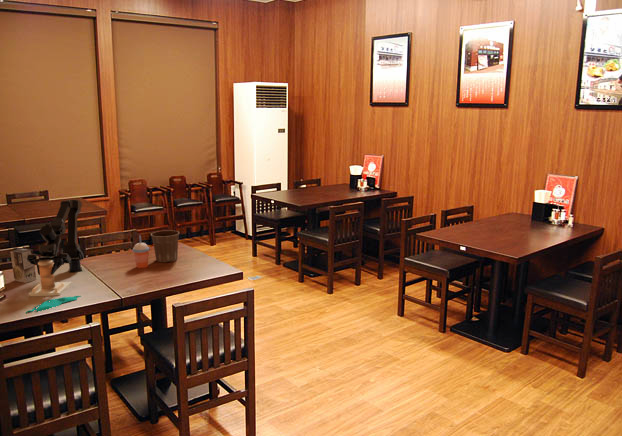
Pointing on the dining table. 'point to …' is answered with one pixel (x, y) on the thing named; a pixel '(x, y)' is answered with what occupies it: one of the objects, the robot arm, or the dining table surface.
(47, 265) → the bobbin
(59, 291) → the cream square tray
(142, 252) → the cup with straw
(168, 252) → the plant pot
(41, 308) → the cloth
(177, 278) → the dining table surface
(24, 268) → the coffee box
